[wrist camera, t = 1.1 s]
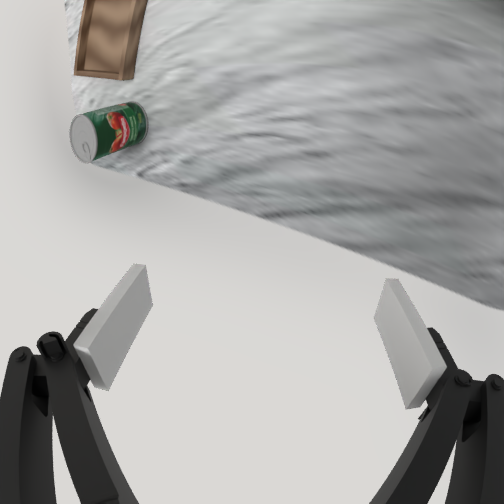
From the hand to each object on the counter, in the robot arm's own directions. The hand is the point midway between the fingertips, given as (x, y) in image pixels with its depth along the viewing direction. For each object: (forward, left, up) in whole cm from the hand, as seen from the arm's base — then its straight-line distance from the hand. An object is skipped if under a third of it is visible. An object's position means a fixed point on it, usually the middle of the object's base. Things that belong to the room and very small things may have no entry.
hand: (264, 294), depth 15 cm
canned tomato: (+4, -35, -25) cm, 43 cm away
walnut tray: (-14, -44, -24) cm, 53 cm away
